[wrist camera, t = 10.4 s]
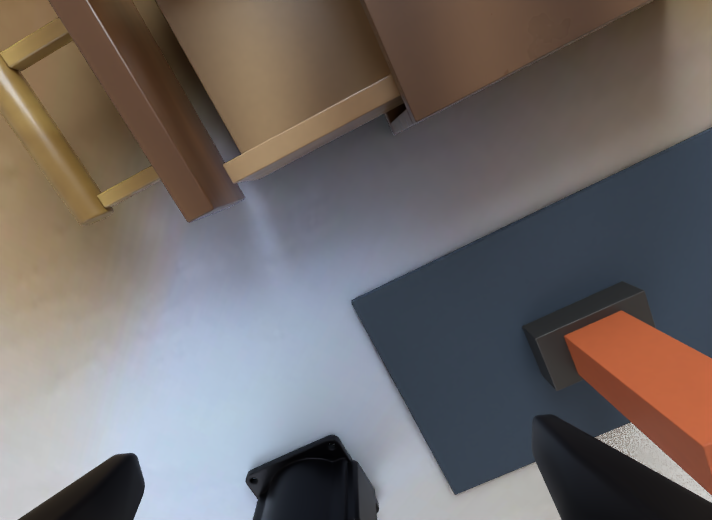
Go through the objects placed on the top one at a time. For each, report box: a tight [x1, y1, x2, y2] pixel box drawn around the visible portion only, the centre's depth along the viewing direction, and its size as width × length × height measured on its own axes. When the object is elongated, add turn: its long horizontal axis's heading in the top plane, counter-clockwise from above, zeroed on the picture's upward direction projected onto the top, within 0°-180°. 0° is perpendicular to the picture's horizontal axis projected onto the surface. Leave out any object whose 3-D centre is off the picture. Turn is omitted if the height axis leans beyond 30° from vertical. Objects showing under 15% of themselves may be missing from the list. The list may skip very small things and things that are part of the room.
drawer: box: [0, 0, 404, 226], centre depth 15 cm, size 18×11×5 cm, turn 117°
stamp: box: [522, 281, 712, 495], centre depth 17 cm, size 6×4×10 cm, turn 116°
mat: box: [352, 127, 712, 495], centre depth 21 cm, size 22×15×1 cm
